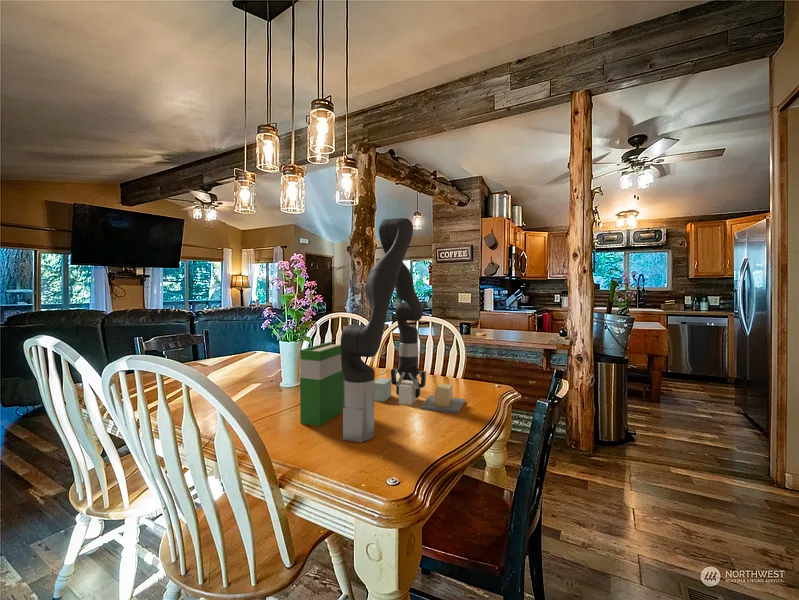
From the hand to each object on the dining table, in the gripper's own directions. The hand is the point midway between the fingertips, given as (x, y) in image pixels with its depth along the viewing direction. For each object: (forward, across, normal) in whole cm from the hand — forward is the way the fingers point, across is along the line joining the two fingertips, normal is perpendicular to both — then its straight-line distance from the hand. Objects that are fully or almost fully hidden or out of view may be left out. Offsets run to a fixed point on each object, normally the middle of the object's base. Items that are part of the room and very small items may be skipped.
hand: (408, 396), depth 143 cm
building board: (+2, +14, 0) cm, 14 cm away
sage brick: (+2, -11, 0) cm, 11 cm away
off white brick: (+2, 0, 0) cm, 2 cm away
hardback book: (+2, -22, -25) cm, 33 cm away
